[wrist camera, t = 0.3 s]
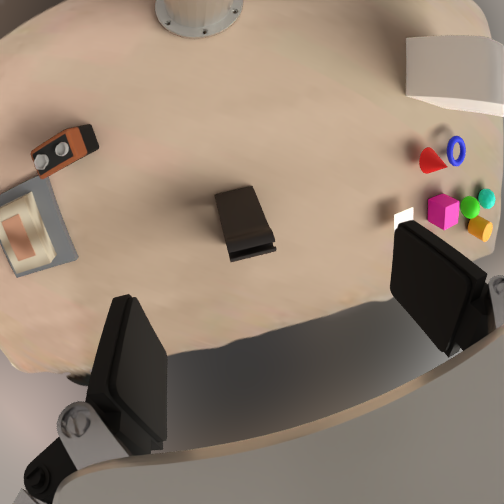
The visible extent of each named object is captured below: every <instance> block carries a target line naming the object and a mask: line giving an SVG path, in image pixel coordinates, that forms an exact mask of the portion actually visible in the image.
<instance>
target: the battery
mask: <svg viewBox="0 0 504 504" xmlns="http://www.w3.org/2000/svg"><path fill="white" fill-rule="evenodd" d="M98 149H99V144H98V142H97V139H96V136H95V134H94V131H93V128H92V125H90V124H88V125H83V126H78V127H73V128H69V129H65V130H63V131H62V132H60V133H58V134H57V135H55V136H54V137H52V138H50V139H49V140H47V141H46V142H44V143H43V144H41V145H40V146H38V147H37V148H35V149H34V150H32V151H31V157H32V160H33V162H34V165H35V167H36V170H37V172H38V175H39V177H40V179H45V178H46V177H48V176H50V175H52V174H53V173H55V172H57V171H59V170H61V169H62V168H64V167H66V166H68V165H70V164H72V163H73V162H75V161H77V160H79V159H81V158H83V157H85V156H86V155H88V154H90V153H92V152H94V151H96V150H98Z"/></svg>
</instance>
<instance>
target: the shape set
mask: <svg viewBox="0 0 504 504" xmlns="http://www.w3.org/2000/svg"><path fill="white" fill-rule="evenodd" d="M456 142H458V143H459V145H460V155H459V157H458V159H457V160H454V158H453V147H454V144H455V143H456ZM465 152H466V148H465V144H464V141H463V139H462V138H461V137H459V136H453V137H452V138H451V139H450V141H449V143H448V146H447V157H448V160H449V162H450V164H452V165H453V166H459V165H460V164H461V163H462V162H463V160H464V158H465ZM419 164H420V168H421V170H422V172H424V173H426V174H427V173H431V172H434V171H437V170H440V169H443V168H447V166H446V164H445V163H444V162H443V161H442V160H441V158H440V157H439V156H438V155H437V154H436V153H435V151H434V150H433V149H432V148H430V147H427V148H425V149H424V150H423V151H422V153H421V155H420V160H419ZM478 200H479V202H478V201H477V199H476V198H474V197H472V196H467V197H465V198H464V199H463V200H462V201H461V205H460V209H461V212H462V214H463V215H464V216H465V217H466V218H469V219H470V221H469V225H468V232H469V233H470V234H472V235H474V236H475V237H477V238H479V239H480V240H482V241H484V242H486V241H487V240H488V239H489V237H490V235H491V232H492V227H493V226H492V223H491V222H489V221H487V220H485V219H484V218H482V217H480V216H478V214H479V211H480V205H481V206H482V207H483V208H487V209H490V208H491V207H492V206H494V204H495V196H494V193H493V192H492V191H491V190H490V189H483V190H481V191H480V192H479V196H478ZM479 203H480V205H479ZM458 216H459V201H458V200H456V199H454V198H452V197H450V196H448V195H445V194H440V195H437V196H435V197H432V198H430V199H428V221H429V222H430V223H432V224H434V225H436V226H438V227H439V228H441V229H443V230H446V229H447V228H449V227H451V226H453V225H455V224H457V223H458ZM409 220H413V207H412V208H410V209H407V210H405V211H402V212H400V213H397V214H395V215H394V233H395V229H396V228H397V226H398V224H399V223H402V222H405V221H409Z"/></svg>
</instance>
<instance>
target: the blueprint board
mask: <svg viewBox="0 0 504 504" xmlns="http://www.w3.org/2000/svg"><path fill="white" fill-rule="evenodd" d="M30 192H32V193H33V196H34V199H35V202H36V205H37V208H38V210H39V213H40V216H41V218H42V221H43V223H44V226H45V228H46V231H47V233H48V236H49V238H50V240H51V243H52V245H53V247H54V250H55V252H56V254H57V255H56V256H55V258H54V259H53V260H52V262H51V263H50V264H47V265H43V266H40V267H37V268H34V269H30V270H27V271H24V272H21V273H18V274H16V272H15V270H14V268H13V266H12V264H11V262H10V259H9V257H8V255H7V253H6V251H5V249H4V247H3V244H2V242H1V240H0V244H1V246H2V249H3V251H4V253H5V255H6V257H7V259H8V261H9V263H10V265H11V267H12V269H13V271H14V273H15V275H16V277H17V278H18V277H21V276H24V275H28V274H31V273H34V272H38V271H41V270H44V269H48V268H51V267H54V266H58V265H61V264H65V263H68V262H72V261H75V260H77V258H78V254H77V252H76V250H75V248H74V245H73V243H72V240H71V238H70V236H69V233H68V231H67V228H66V226H65V223H64V221H63V218H62V215H61V213H60V210H59V207H58V204H57V201H56V199H55V196H54V193H53V190H52V187H51V183H50V180H49V177H46V178H45V179H40V177H39V175H38V176H36V177H34V178H32V179H30V180H28V181H25V182H23V183H21V184H19V185H18V186H16V187H14V188H12V189H10V190H8V191H6V192H4V193H2V194H1V195H0V207H1V206H3V205H5V204H7V203H9V202H11V201H13V200H15V199H17V198H19V197H21V196H23V195H25V194H28V193H30Z"/></svg>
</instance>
